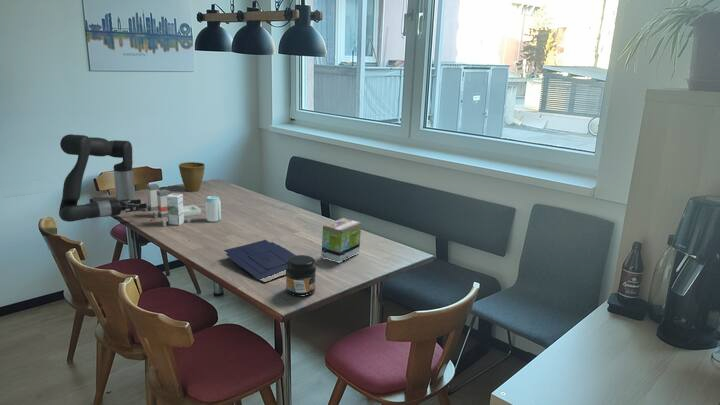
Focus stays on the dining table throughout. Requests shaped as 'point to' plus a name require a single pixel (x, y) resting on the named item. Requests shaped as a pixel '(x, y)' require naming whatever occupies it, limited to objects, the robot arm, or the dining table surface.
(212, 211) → the can
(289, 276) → the supplement container
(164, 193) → the marked fuse
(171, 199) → the syrup box
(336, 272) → the dining table surface
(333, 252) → the tea box
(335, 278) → the dining table surface
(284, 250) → the dark blue book
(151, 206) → the block
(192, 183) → the plant pot
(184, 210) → the tray
